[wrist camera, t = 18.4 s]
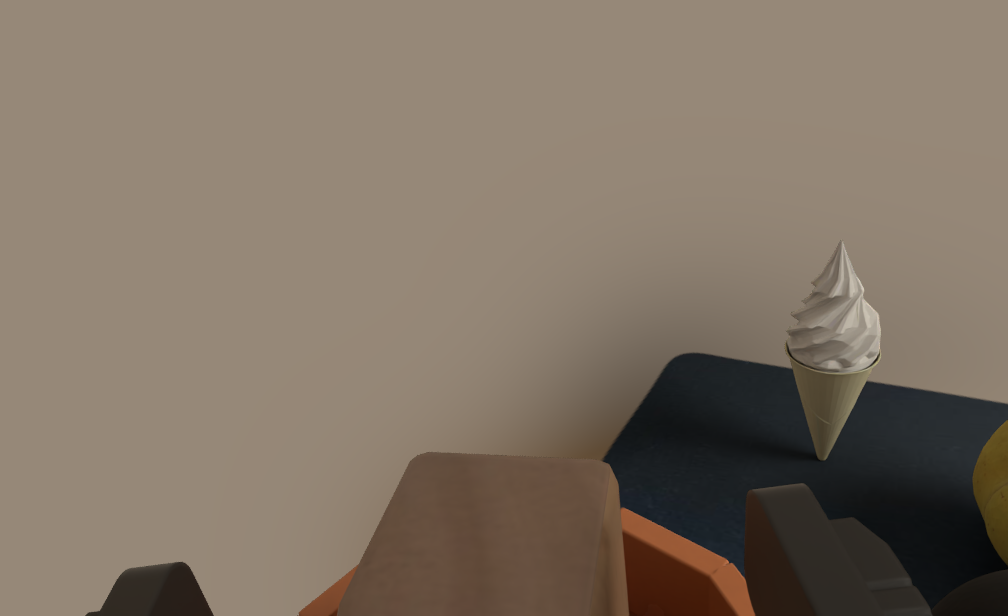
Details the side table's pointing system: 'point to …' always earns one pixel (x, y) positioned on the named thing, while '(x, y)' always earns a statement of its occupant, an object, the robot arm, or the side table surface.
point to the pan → (643, 577)
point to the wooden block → (495, 541)
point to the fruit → (994, 489)
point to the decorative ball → (977, 597)
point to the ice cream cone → (833, 349)
